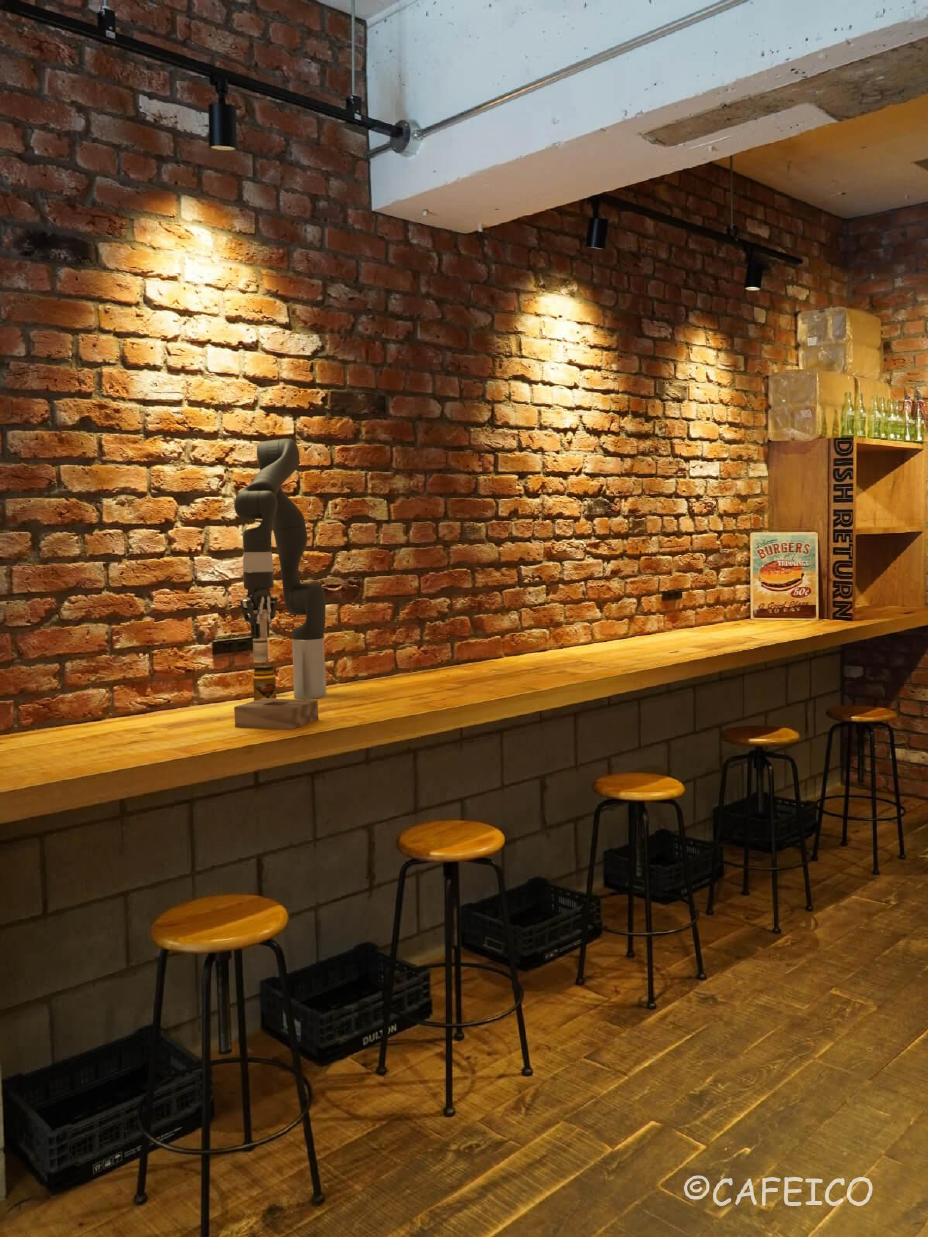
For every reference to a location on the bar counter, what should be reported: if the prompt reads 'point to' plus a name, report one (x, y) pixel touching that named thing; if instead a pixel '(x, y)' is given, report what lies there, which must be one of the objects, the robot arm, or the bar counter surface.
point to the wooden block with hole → (276, 713)
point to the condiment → (264, 682)
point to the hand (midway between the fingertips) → (260, 637)
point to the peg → (261, 641)
